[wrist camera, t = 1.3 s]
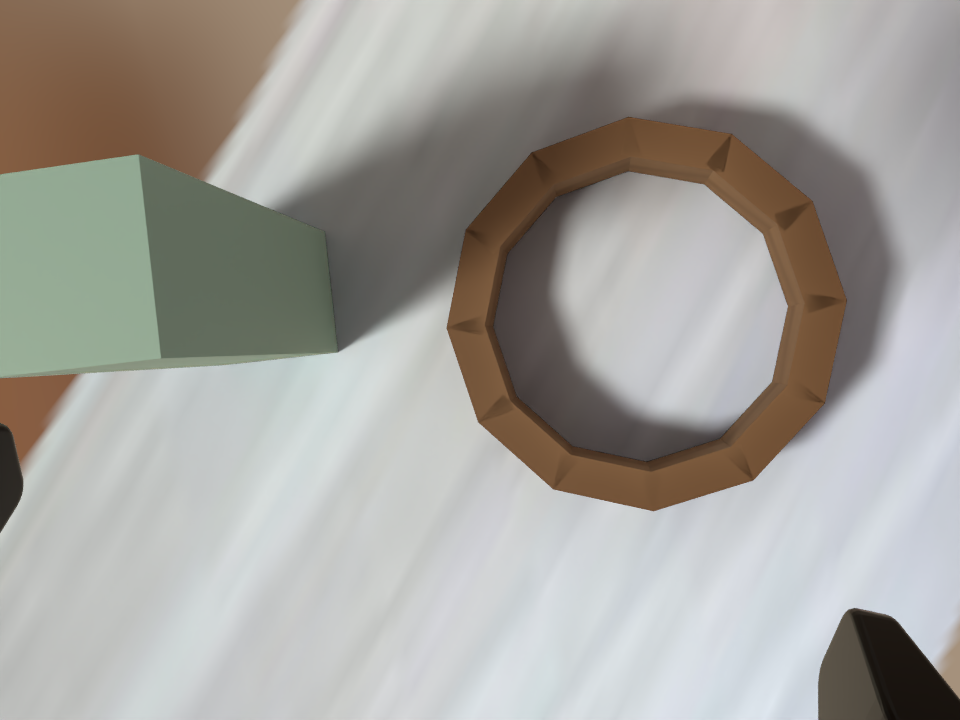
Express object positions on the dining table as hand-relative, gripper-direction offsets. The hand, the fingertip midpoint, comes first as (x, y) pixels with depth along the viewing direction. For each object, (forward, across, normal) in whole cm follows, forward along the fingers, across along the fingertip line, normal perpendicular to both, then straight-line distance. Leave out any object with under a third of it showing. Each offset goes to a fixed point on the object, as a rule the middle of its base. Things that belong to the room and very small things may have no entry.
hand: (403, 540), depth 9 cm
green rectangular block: (+15, +8, +7) cm, 19 cm away
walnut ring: (+16, -3, +6) cm, 17 cm away
